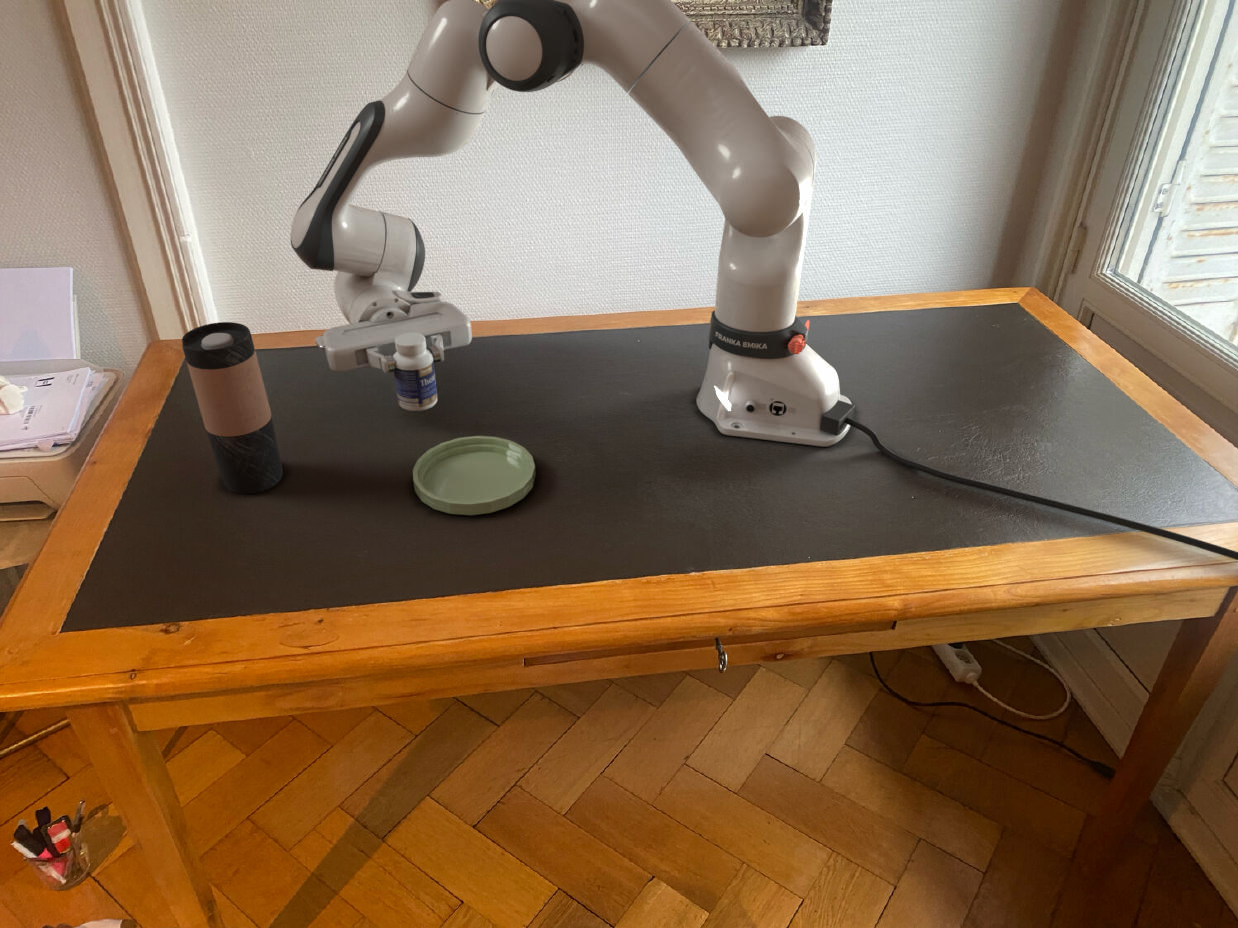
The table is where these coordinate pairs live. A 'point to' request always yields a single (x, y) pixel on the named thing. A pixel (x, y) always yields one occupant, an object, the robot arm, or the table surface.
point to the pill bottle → (414, 373)
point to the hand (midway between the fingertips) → (415, 362)
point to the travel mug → (234, 405)
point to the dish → (474, 475)
